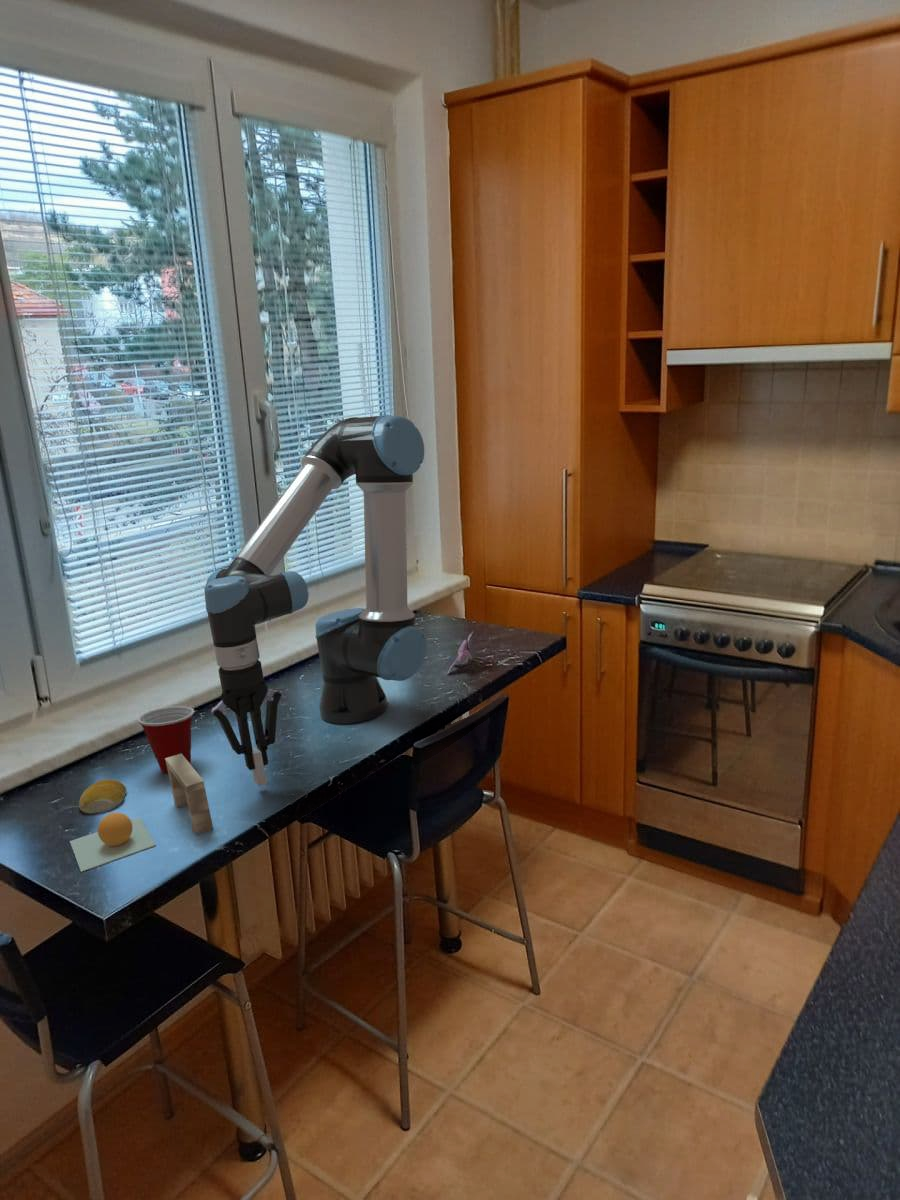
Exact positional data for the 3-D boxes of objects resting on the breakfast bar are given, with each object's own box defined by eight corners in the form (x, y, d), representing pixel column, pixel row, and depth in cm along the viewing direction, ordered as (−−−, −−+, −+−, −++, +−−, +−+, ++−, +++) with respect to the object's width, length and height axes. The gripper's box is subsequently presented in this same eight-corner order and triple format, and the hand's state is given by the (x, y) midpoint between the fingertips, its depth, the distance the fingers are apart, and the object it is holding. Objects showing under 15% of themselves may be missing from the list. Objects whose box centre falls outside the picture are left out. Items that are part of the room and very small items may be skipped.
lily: (470, 661, 221) (449, 632, 219) (503, 649, 213) (481, 619, 211) (450, 690, 213) (427, 661, 211) (483, 679, 205) (460, 649, 203)
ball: (89, 834, 147) (120, 841, 150) (96, 847, 143) (127, 854, 146) (103, 804, 148) (133, 812, 151) (110, 816, 143) (141, 823, 146)
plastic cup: (215, 759, 176) (205, 705, 173) (175, 783, 168) (163, 727, 164) (178, 752, 182) (168, 699, 179) (137, 775, 173) (125, 720, 170)
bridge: (190, 798, 161) (181, 753, 159) (213, 828, 149) (203, 780, 146) (174, 803, 160) (165, 758, 157) (196, 835, 147) (186, 786, 145)
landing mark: (140, 818, 155) (140, 817, 155) (155, 845, 145) (155, 844, 145) (69, 842, 150) (69, 841, 150) (81, 872, 140) (80, 871, 140)
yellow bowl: (129, 788, 168) (125, 769, 167) (123, 809, 160) (118, 790, 159) (84, 796, 167) (80, 778, 166) (76, 818, 158) (71, 799, 157)
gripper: (209, 678, 147) (232, 801, 154) (281, 658, 154) (300, 778, 160) (197, 667, 154) (220, 786, 160) (266, 649, 160) (286, 764, 166)
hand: (260, 782), depth 160 cm, fingers closed
